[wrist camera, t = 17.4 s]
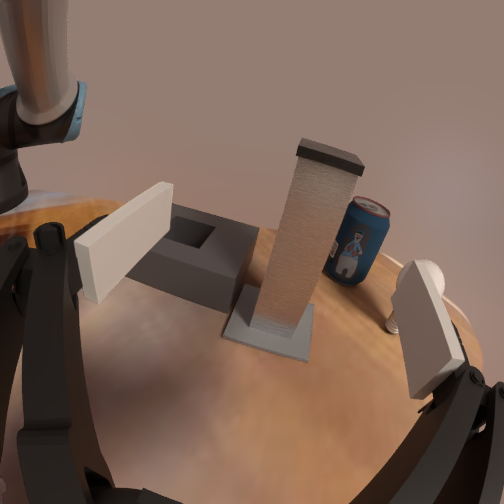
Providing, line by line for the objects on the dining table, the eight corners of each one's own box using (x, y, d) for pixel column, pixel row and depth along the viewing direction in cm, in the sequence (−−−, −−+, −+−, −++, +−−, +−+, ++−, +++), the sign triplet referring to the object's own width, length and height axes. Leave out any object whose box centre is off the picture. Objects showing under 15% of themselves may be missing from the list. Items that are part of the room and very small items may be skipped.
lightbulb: (368, 309, 36) (405, 242, 30) (405, 319, 35) (443, 257, 29) (373, 343, 30) (419, 271, 24) (413, 351, 30) (461, 286, 24)
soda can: (354, 264, 45) (381, 200, 39) (368, 291, 39) (402, 222, 33) (317, 258, 44) (342, 190, 38) (328, 286, 38) (360, 211, 32)
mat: (222, 337, 27) (223, 335, 27) (244, 285, 35) (244, 283, 35) (307, 362, 27) (308, 360, 26) (312, 306, 34) (313, 304, 34)
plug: (246, 328, 29) (298, 145, 19) (256, 298, 33) (302, 137, 23) (292, 341, 28) (364, 166, 18) (297, 310, 32) (356, 155, 22)
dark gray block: (108, 269, 32) (104, 234, 29) (153, 228, 42) (155, 198, 39) (227, 313, 30) (235, 279, 28) (251, 258, 40) (259, 228, 38)
